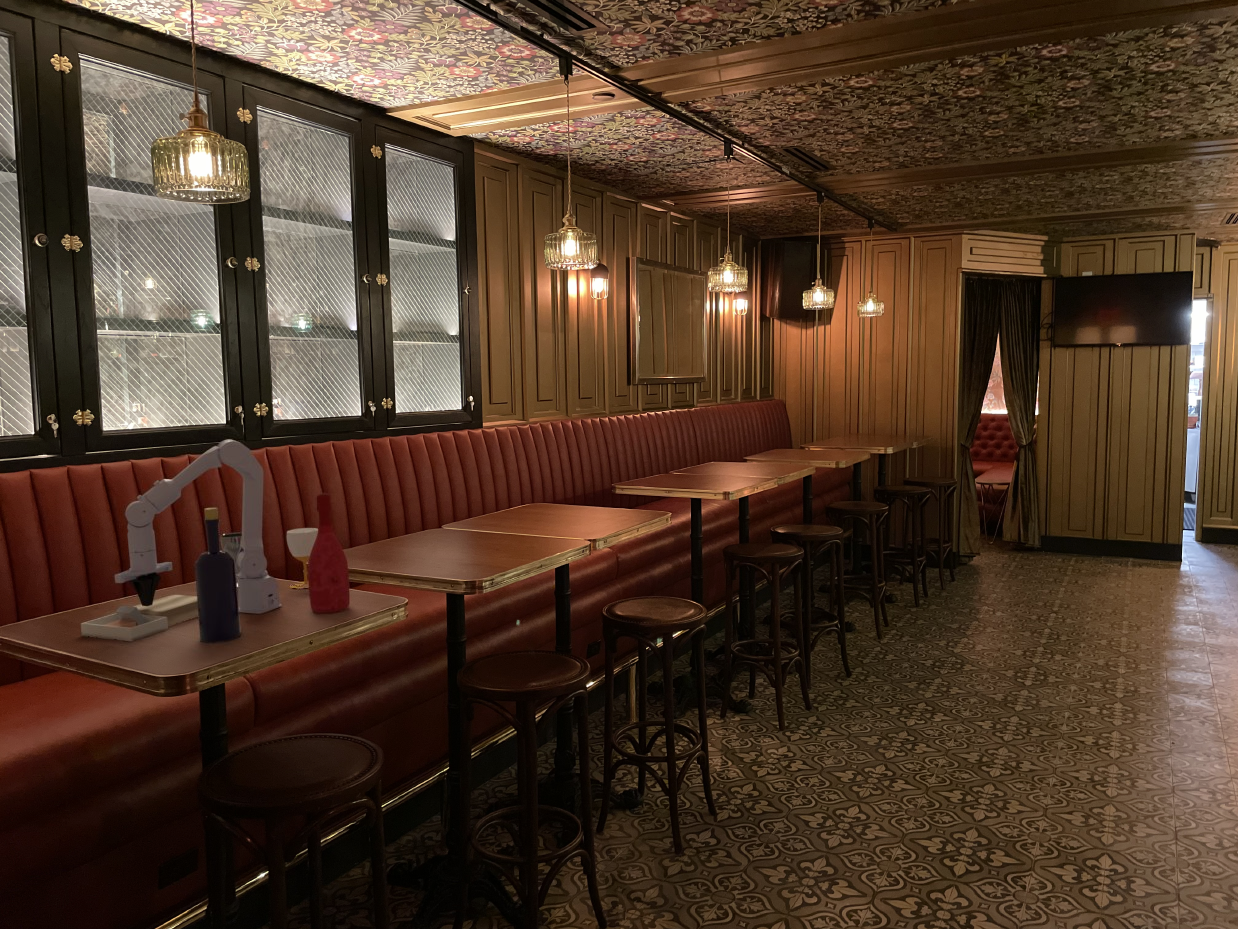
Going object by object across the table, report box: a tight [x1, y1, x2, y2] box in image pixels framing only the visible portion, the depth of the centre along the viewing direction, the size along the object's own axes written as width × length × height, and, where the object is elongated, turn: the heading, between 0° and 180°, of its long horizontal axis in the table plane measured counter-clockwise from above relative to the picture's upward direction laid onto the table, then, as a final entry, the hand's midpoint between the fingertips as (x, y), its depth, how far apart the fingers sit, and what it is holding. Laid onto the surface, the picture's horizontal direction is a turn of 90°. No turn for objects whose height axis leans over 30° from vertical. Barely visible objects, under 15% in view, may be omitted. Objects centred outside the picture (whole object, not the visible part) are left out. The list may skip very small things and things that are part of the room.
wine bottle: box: [307, 492, 351, 614], centre depth 221 cm, size 10×10×30 cm
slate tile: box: [115, 605, 147, 626], centre depth 208 cm, size 5×5×2 cm
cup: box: [286, 527, 318, 590], centre depth 249 cm, size 9×9×16 cm
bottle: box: [194, 507, 242, 644], centre depth 199 cm, size 9×9×30 cm
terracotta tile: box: [105, 620, 136, 628], centre depth 205 cm, size 5×5×2 cm
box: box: [80, 612, 169, 642], centre depth 206 cm, size 16×10×3 cm, turn 69°
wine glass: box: [219, 531, 242, 587], centre depth 252 cm, size 8×8×15 cm
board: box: [132, 594, 199, 627], centre depth 218 cm, size 12×14×4 cm
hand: (147, 605), depth 212 cm, fingers closed
